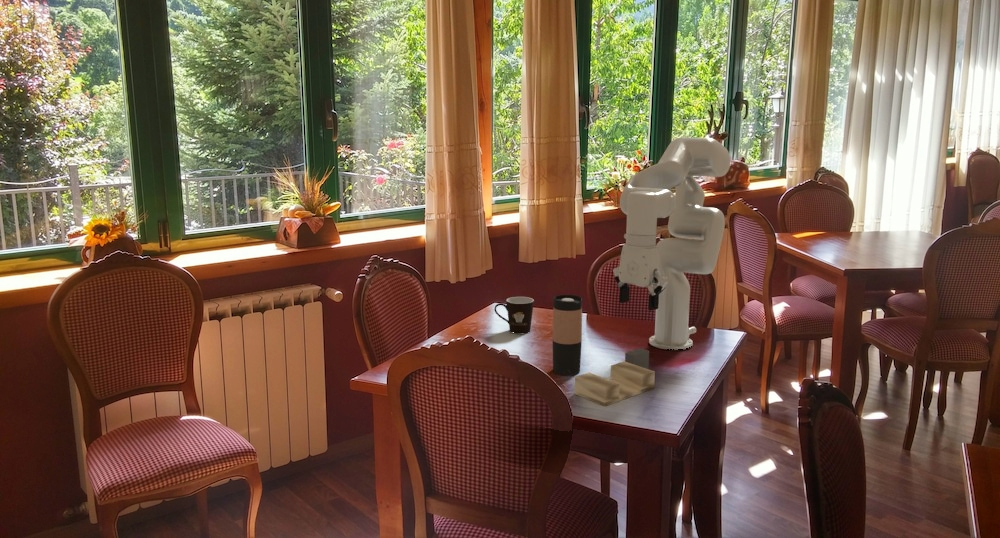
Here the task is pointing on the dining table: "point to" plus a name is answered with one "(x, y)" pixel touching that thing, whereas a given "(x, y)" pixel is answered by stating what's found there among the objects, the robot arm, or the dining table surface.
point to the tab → (638, 357)
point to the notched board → (615, 383)
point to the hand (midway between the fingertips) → (638, 305)
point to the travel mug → (567, 334)
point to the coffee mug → (518, 313)
